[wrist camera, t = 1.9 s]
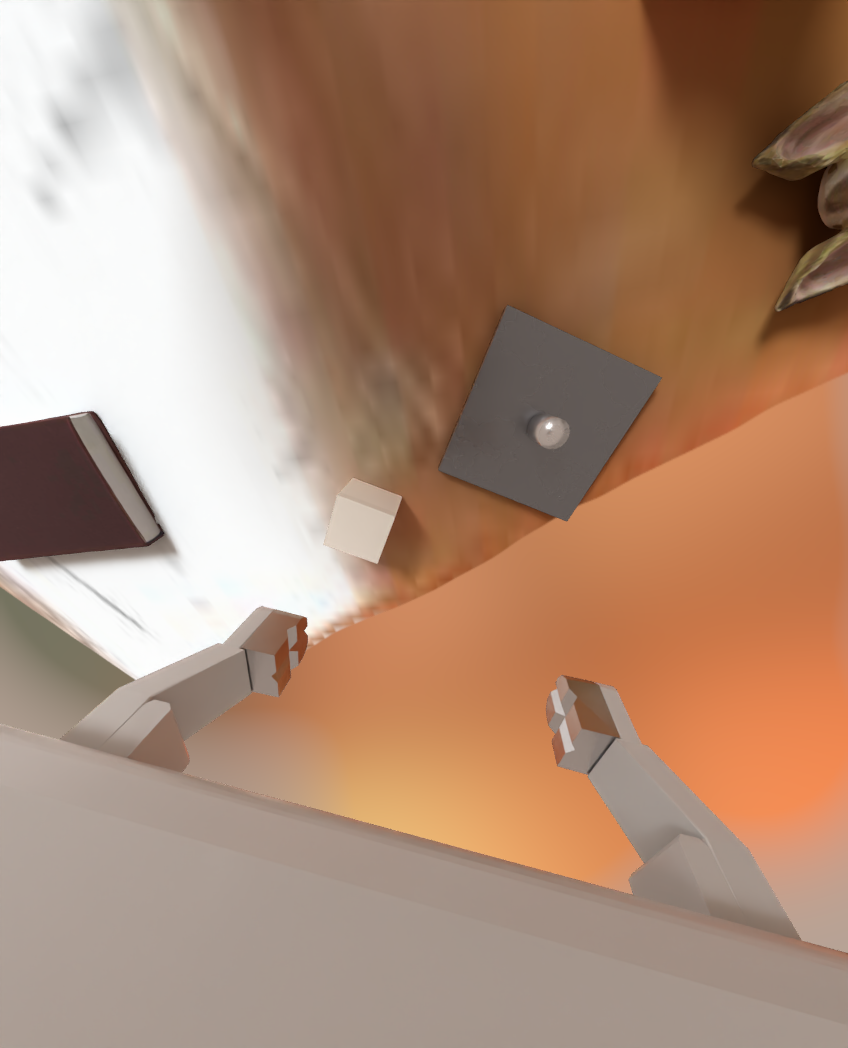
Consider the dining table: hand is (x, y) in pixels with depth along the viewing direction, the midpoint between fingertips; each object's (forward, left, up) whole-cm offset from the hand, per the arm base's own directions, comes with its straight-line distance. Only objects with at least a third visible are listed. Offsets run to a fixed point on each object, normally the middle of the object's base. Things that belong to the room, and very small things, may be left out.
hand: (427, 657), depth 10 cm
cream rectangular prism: (-5, -7, -23) cm, 24 cm away
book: (-39, -19, -24) cm, 49 cm away
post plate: (+7, +7, -23) cm, 25 cm away
